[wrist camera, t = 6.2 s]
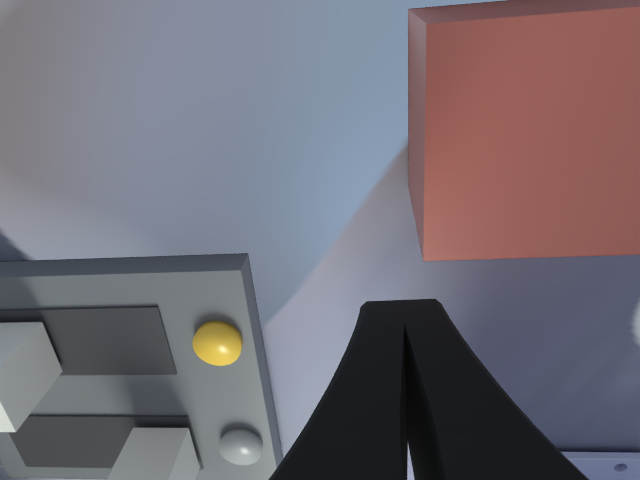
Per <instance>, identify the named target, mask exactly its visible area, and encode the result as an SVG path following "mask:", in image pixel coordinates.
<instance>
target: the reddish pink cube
mask: <svg viewBox="0 0 640 480" xmlns="http://www.w3.org/2000/svg"><path fill="white" fill-rule="evenodd" d="M408 101H409V102H408V111H409V112H408V117H409V118H408V120H409V121H408V127H409V128H408V130H409V132H408V135H409V192H410V197H411V202H412V207H413V212H414V217H415V222H416V227H417V232H418V237H419V242H420V247H421V252H422V257H423V261H444V260H477V259H510V258H543V257H575V256H608V255H640V0H507V1H495V2H484V3H472V4H462V5H461V4H460V5H449V6H438V7H425V8H413V9H408Z"/></svg>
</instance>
